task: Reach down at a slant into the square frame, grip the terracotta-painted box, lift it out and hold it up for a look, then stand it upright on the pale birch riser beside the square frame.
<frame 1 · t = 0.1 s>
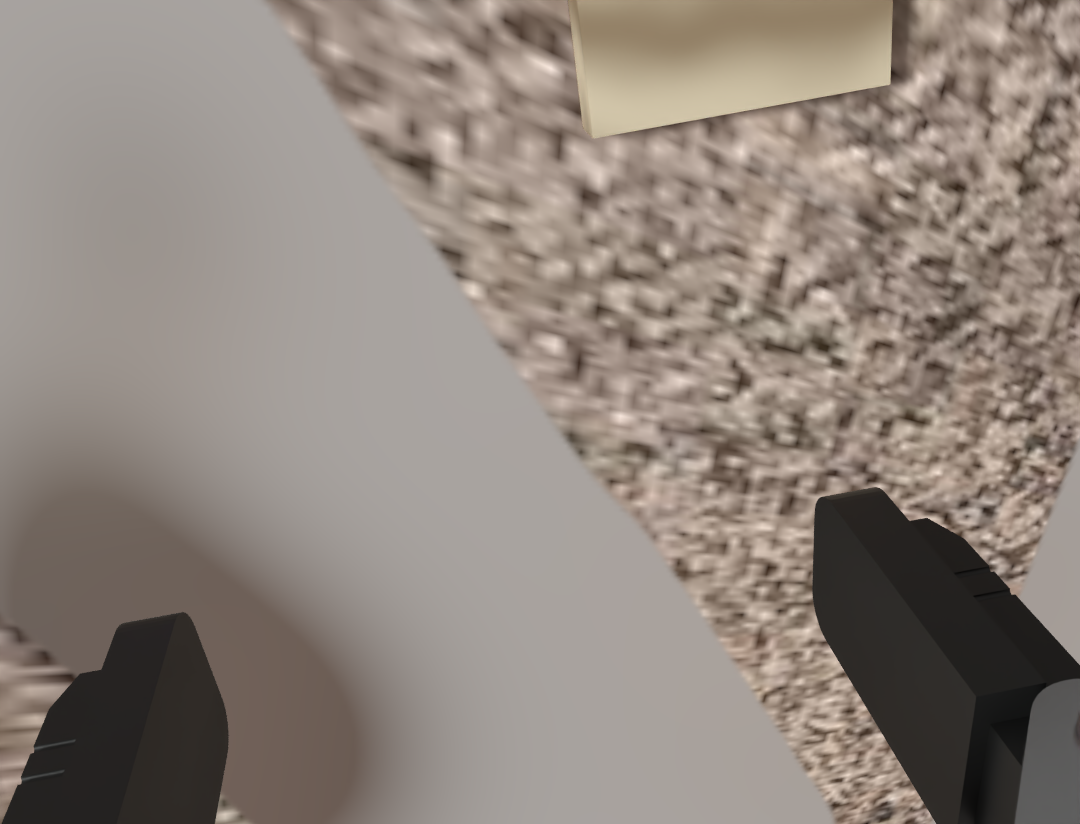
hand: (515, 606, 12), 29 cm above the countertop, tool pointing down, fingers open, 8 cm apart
riser: (721, 2, 37), on the countertop
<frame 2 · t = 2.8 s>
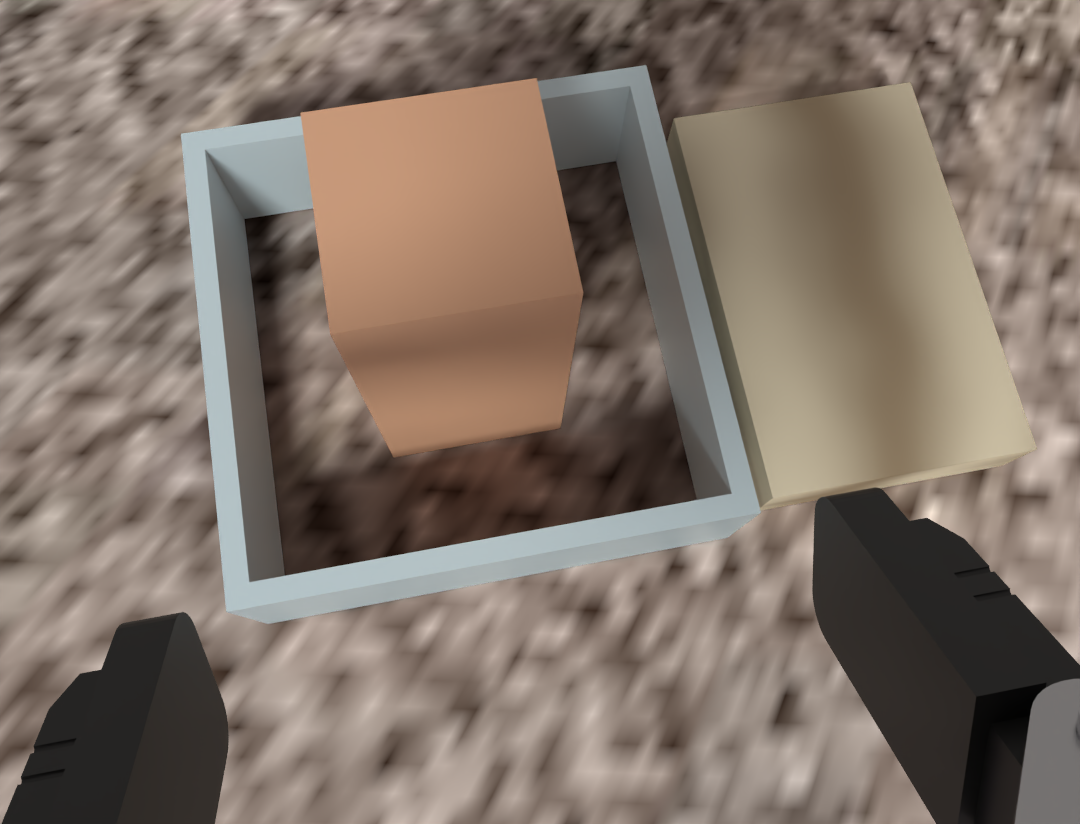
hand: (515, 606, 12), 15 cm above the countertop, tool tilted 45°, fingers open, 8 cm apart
square frame: (463, 363, 29), on the countertop
terracotta box: (453, 298, 24), in the square frame
riser: (825, 302, 30), on the countertop
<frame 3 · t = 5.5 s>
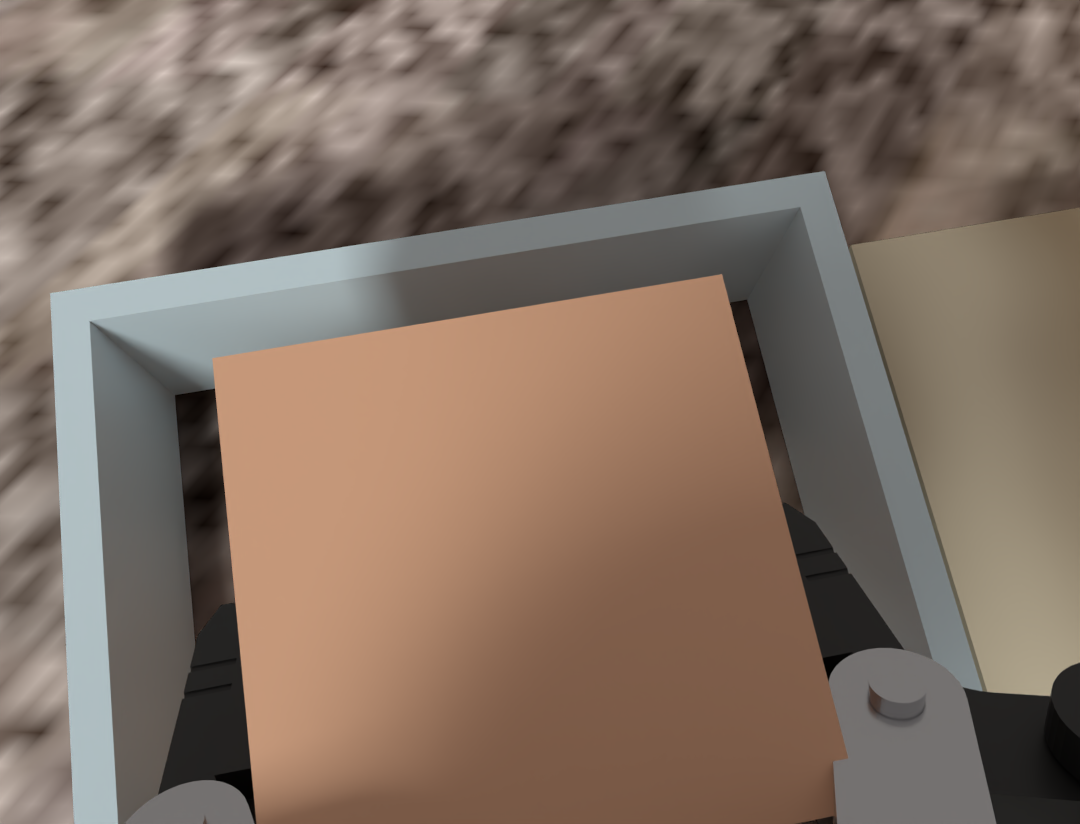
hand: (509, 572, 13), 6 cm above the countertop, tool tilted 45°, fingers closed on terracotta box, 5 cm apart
square frame: (518, 638, 18), on the countertop
terracotta box: (518, 615, 13), in the square frame, touching gripper
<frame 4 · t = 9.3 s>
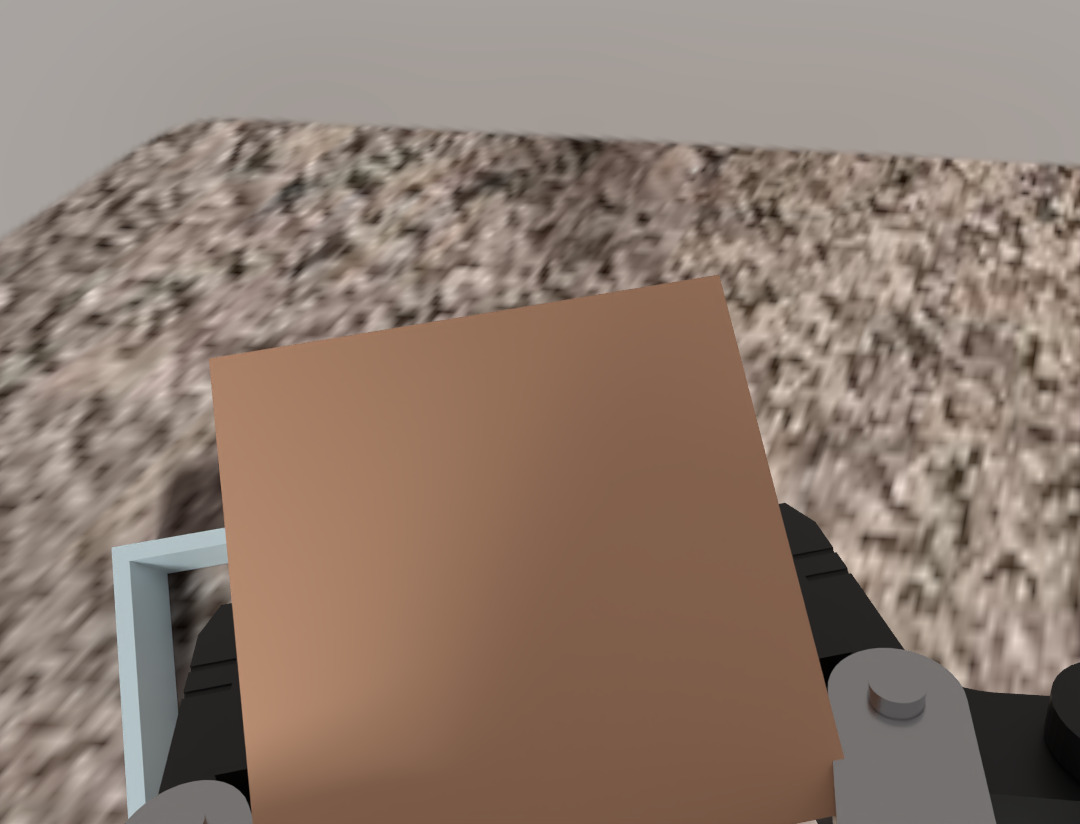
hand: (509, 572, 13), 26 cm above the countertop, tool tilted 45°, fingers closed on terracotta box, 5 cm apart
square frame: (334, 697, 37), on the countertop
terracotta box: (516, 615, 13), point 26 cm above the countertop, touching gripper
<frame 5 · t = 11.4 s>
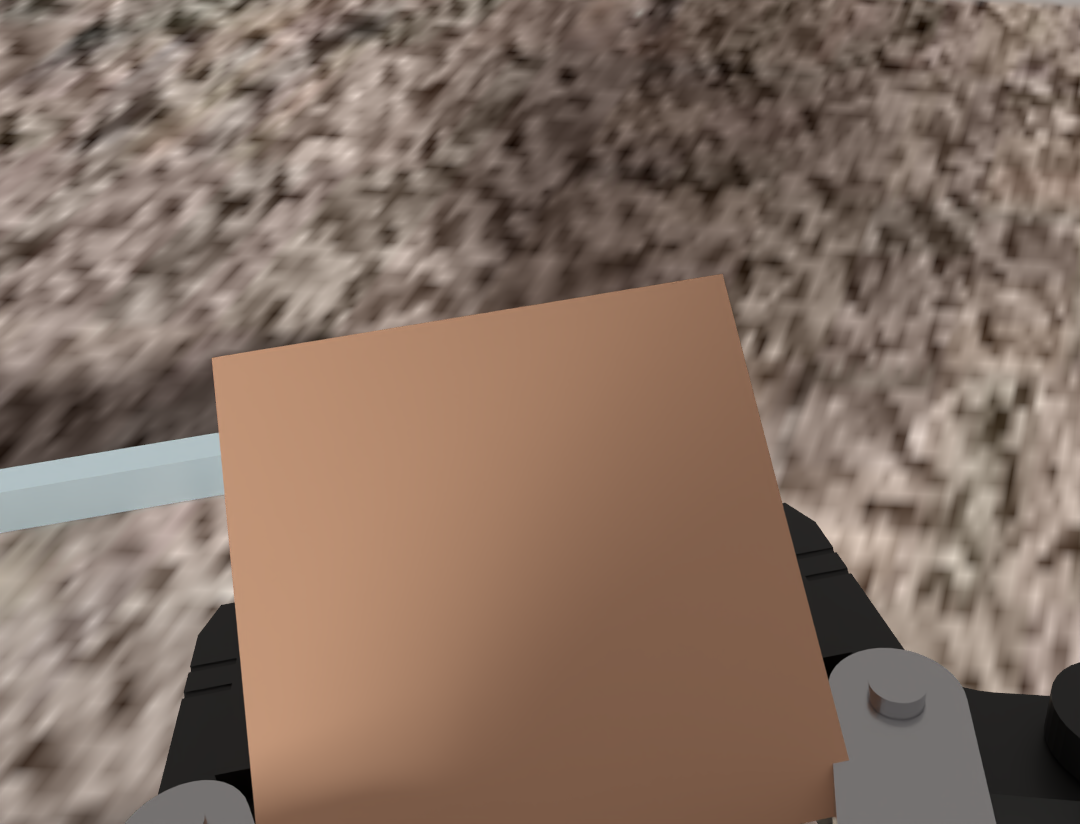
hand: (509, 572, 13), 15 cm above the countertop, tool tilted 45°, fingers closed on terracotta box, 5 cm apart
square frame: (100, 733, 26), on the countertop
terracotta box: (518, 615, 13), point 14 cm above the countertop, touching gripper
when the fingers open (9 cm above the countertop, at t = 12.9 s): terracotta box drops 1 cm, resting on riser.
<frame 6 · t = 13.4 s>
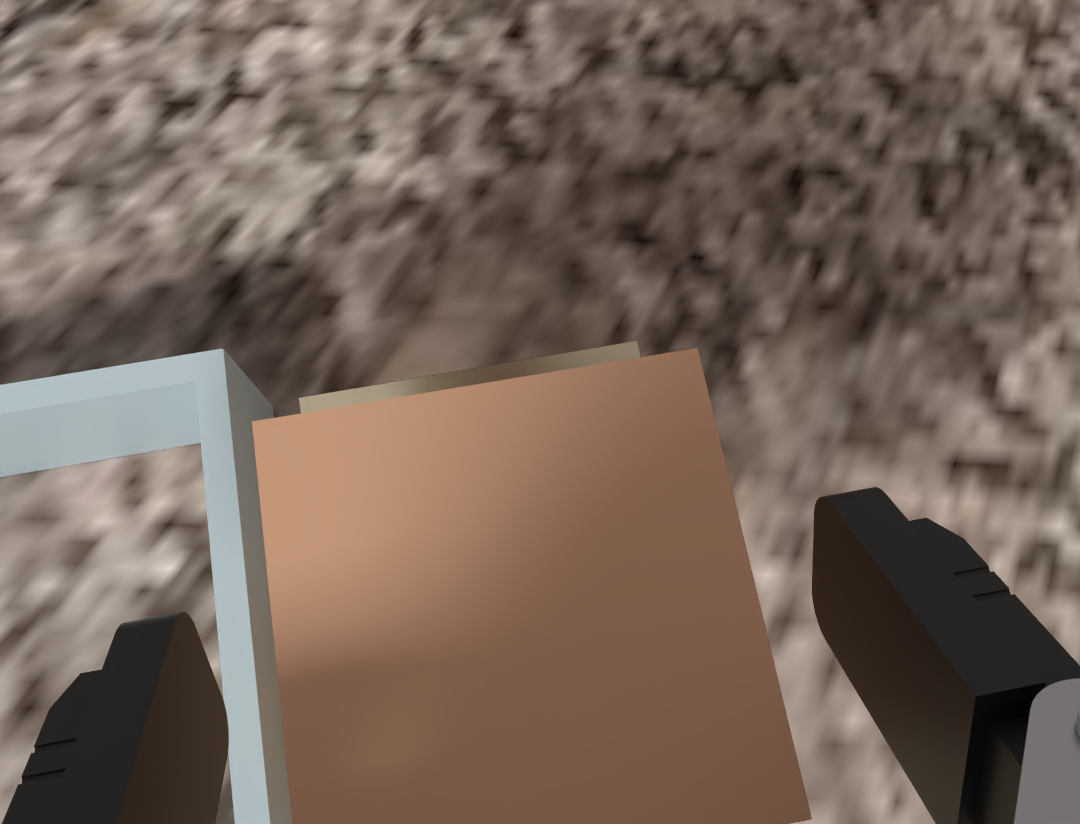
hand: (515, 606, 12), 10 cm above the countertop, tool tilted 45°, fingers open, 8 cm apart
terracotta box: (518, 637, 15), on the riser, point 7 cm above the countertop
riser: (517, 646, 21), on the countertop
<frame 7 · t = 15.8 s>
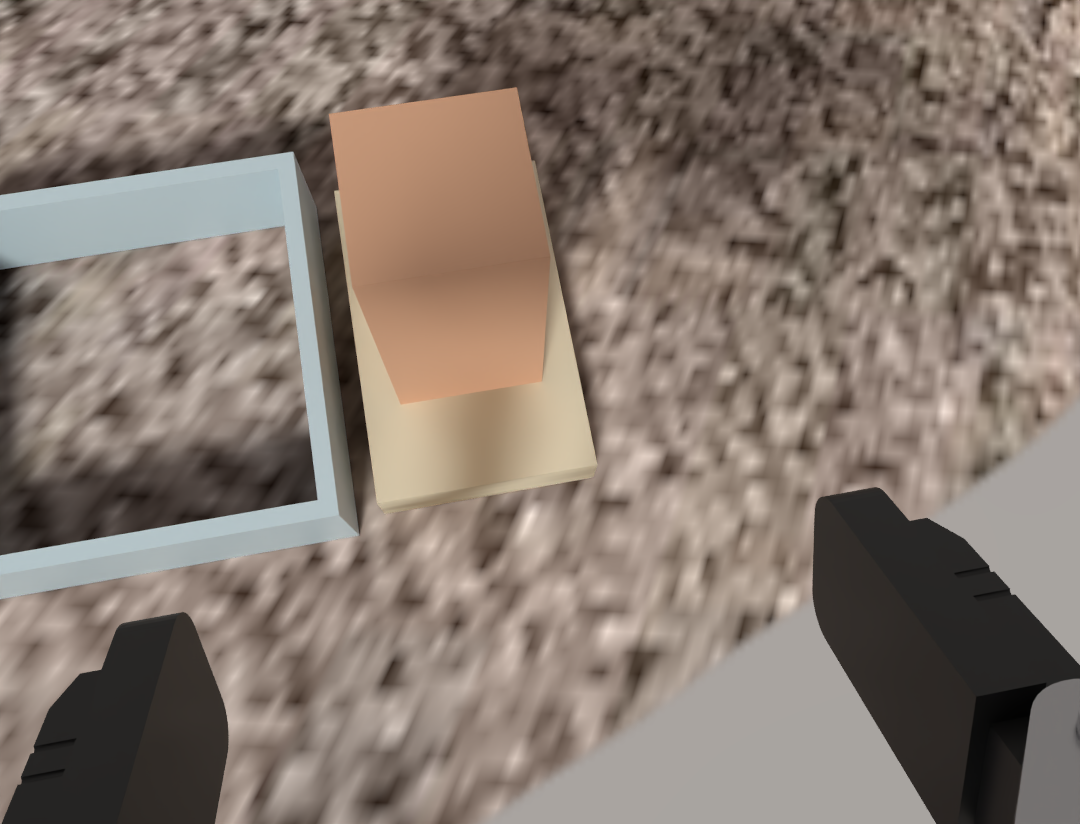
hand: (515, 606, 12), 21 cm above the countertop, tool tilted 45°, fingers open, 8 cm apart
square frame: (158, 392, 35), on the countertop
terracotta box: (450, 267, 29), on the riser, point 7 cm above the countertop
riser: (463, 342, 36), on the countertop
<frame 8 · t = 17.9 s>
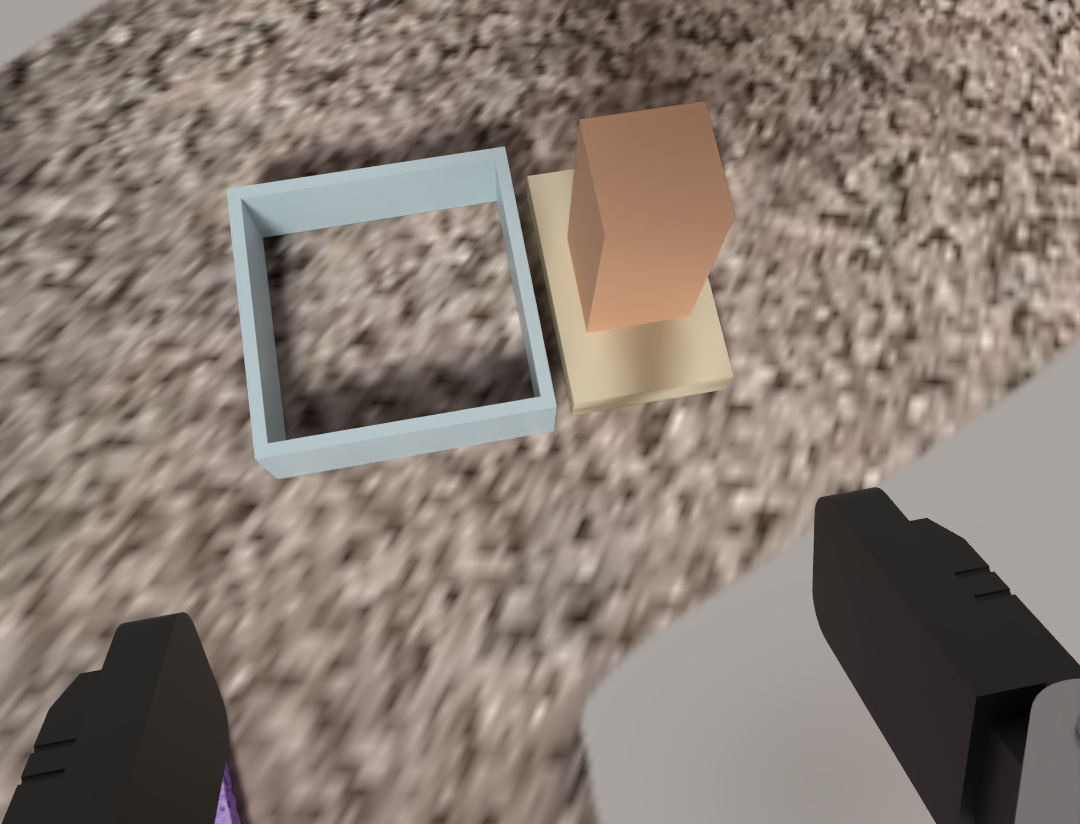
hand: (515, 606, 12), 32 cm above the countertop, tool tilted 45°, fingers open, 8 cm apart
square frame: (397, 327, 47), on the countertop
terracotta box: (640, 228, 41), on the riser, point 7 cm above the countertop
riser: (622, 290, 48), on the countertop
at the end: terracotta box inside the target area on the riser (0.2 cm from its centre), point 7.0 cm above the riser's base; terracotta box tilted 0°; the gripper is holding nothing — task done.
